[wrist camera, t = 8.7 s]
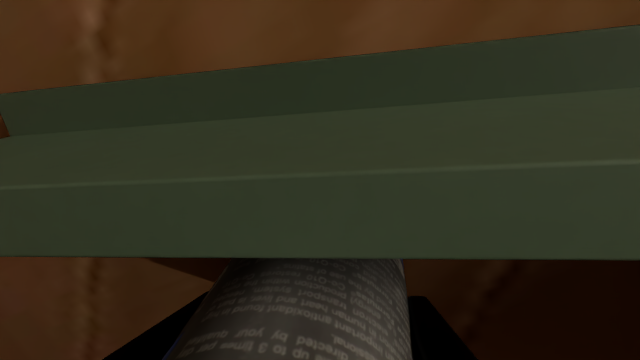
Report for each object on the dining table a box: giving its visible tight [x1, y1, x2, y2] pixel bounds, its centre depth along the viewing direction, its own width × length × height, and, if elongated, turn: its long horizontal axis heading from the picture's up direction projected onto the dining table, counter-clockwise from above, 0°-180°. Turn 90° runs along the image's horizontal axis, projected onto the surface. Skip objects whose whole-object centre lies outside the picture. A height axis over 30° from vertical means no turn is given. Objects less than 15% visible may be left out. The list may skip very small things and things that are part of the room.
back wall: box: [0, 25, 640, 260], centre depth 6 cm, size 2×18×5 cm, turn 96°
